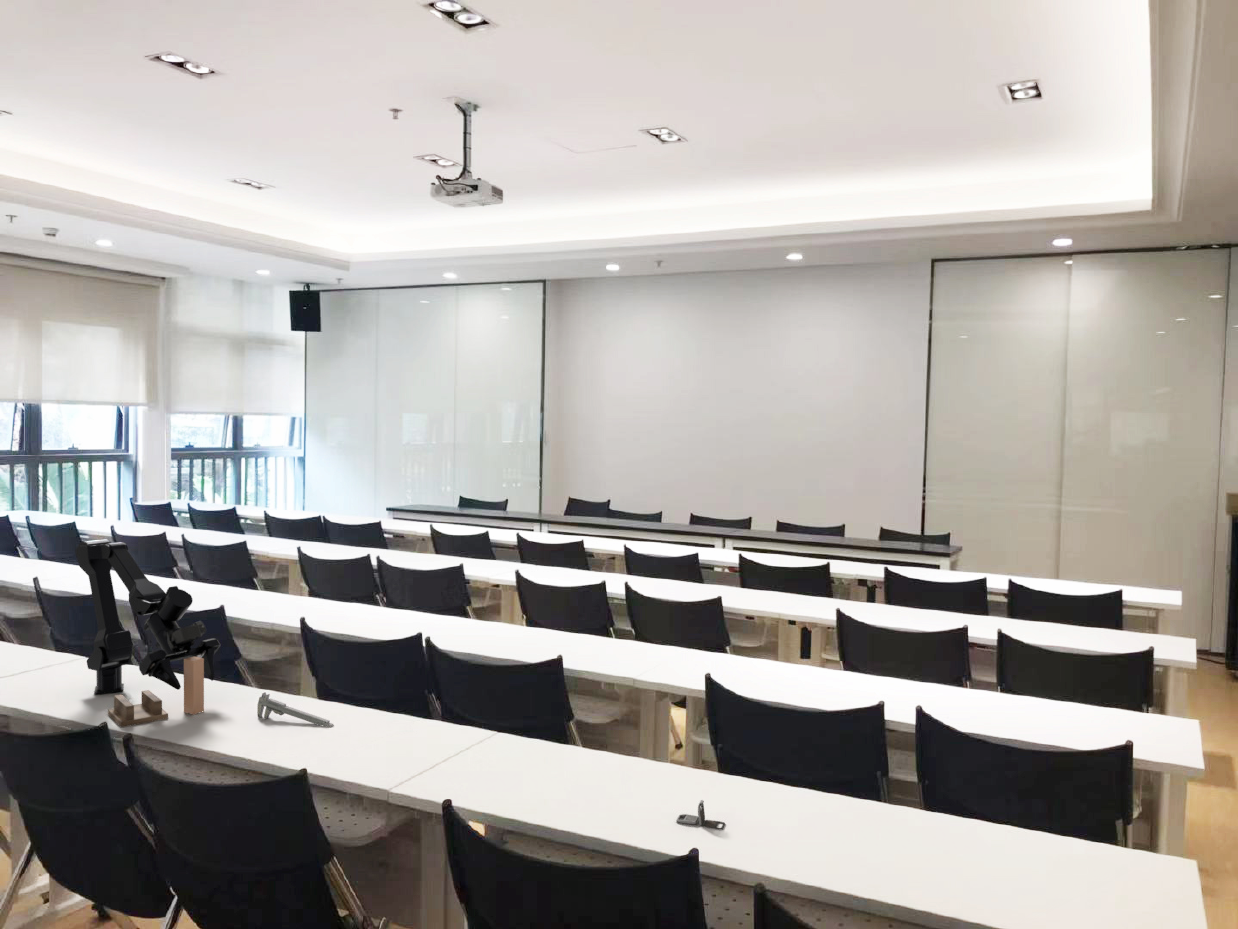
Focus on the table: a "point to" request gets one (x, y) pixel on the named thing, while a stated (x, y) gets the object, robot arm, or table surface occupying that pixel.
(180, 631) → the robot arm
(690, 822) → the strap clip
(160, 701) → the slot rack
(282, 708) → the caliper
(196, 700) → the clay block
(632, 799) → the table surface
